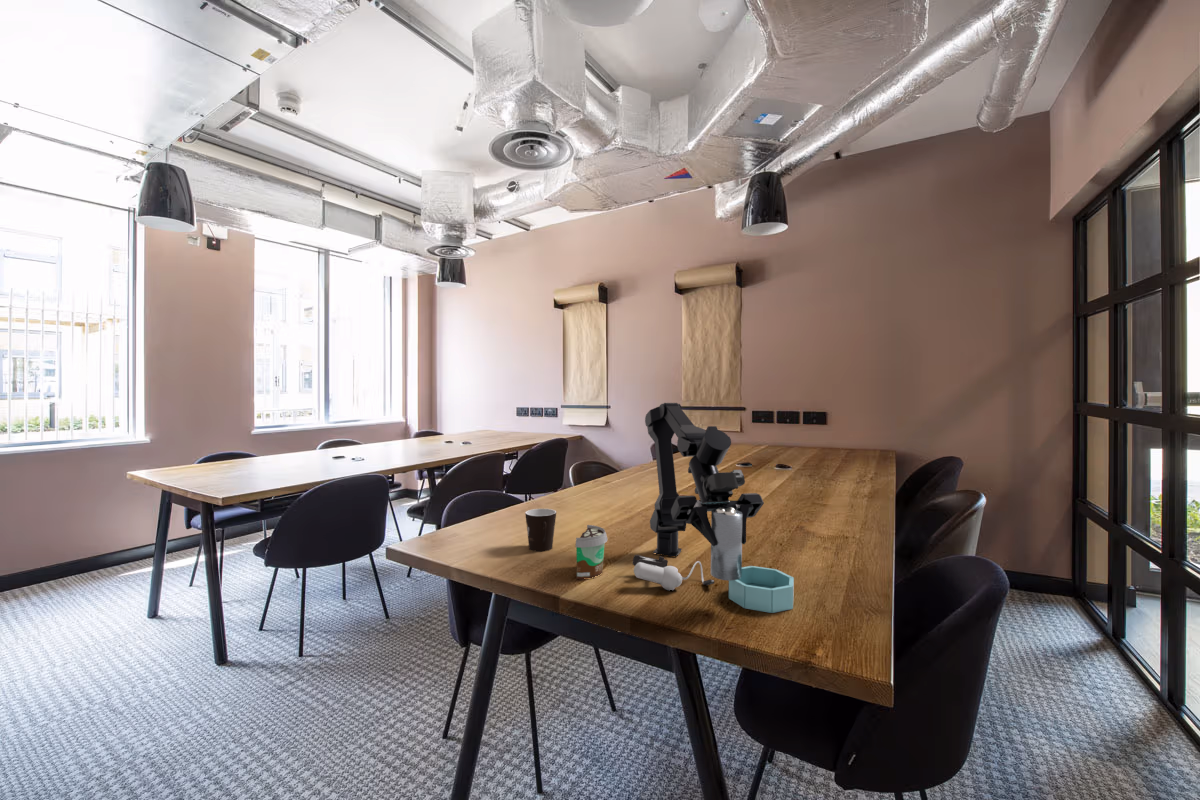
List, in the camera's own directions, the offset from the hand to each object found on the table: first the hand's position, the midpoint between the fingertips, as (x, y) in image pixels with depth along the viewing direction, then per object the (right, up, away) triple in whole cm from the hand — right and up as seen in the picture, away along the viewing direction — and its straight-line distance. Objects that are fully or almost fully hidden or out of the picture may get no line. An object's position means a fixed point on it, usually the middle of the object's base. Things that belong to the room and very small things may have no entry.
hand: (729, 544), depth 96 cm
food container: (-27, -13, +20) cm, 36 cm away
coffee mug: (-42, -13, +38) cm, 58 cm away
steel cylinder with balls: (0, -7, +1) cm, 7 cm away
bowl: (+8, -13, +6) cm, 17 cm away
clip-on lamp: (-9, -14, +14) cm, 22 cm away
